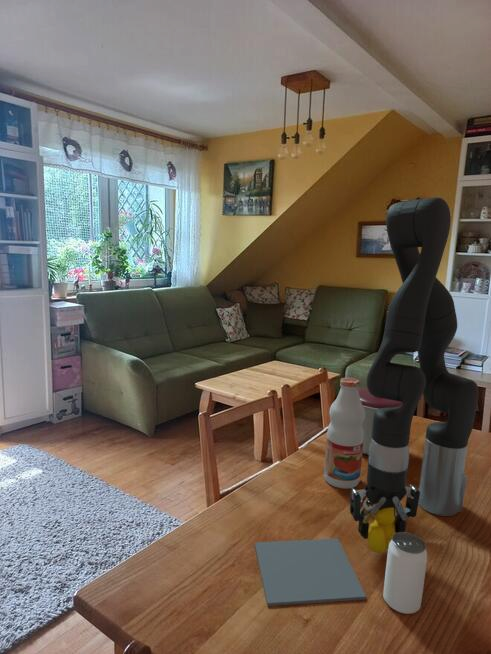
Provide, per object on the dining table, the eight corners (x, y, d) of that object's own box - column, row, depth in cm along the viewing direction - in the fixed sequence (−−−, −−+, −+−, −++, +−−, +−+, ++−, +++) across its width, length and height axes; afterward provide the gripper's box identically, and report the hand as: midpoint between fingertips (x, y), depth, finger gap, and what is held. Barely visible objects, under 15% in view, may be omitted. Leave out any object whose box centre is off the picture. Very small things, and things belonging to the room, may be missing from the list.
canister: (357, 431, 153) (362, 371, 149) (412, 447, 143) (419, 383, 139) (333, 450, 139) (339, 384, 135) (393, 470, 129) (401, 399, 124)
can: (377, 587, 85) (383, 530, 83) (411, 586, 86) (418, 529, 83) (391, 616, 79) (398, 555, 77) (427, 615, 80) (435, 554, 77)
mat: (337, 540, 98) (337, 538, 98) (365, 599, 82) (366, 596, 82) (254, 545, 96) (254, 542, 96) (267, 606, 80) (267, 603, 80)
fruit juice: (345, 468, 128) (354, 373, 123) (367, 485, 120) (377, 384, 114) (317, 474, 125) (324, 376, 119) (336, 492, 116) (345, 387, 111)
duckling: (376, 525, 101) (379, 484, 99) (400, 534, 98) (405, 492, 96) (359, 555, 91) (363, 510, 89) (386, 566, 89) (391, 520, 87)
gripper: (412, 450, 95) (405, 521, 99) (346, 453, 93) (341, 525, 97) (432, 468, 88) (423, 544, 91) (360, 472, 86) (354, 550, 89)
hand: (381, 534), depth 94 cm, fingers closed on duckling, 7 cm apart
